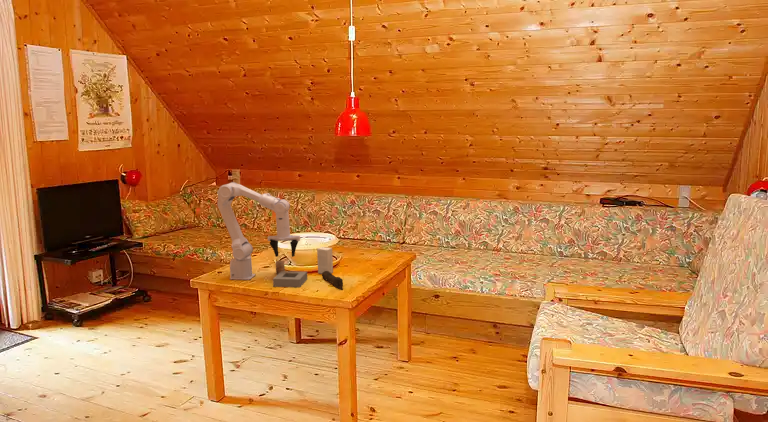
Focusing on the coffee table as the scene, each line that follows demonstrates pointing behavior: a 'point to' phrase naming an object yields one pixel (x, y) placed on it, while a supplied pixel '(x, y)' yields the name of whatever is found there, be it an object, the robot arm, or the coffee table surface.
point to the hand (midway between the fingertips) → (285, 256)
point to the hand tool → (333, 279)
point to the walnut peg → (279, 266)
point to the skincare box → (325, 260)
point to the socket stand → (290, 279)
